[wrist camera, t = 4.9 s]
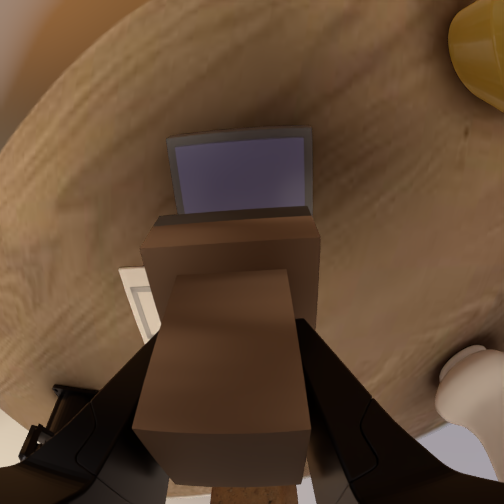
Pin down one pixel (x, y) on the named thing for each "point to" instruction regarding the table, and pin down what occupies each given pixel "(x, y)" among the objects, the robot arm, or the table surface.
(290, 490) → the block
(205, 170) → the inkpad
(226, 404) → the stamp
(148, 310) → the sheet
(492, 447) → the flower vase
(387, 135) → the table surface
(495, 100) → the plant pot
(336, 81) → the table surface
